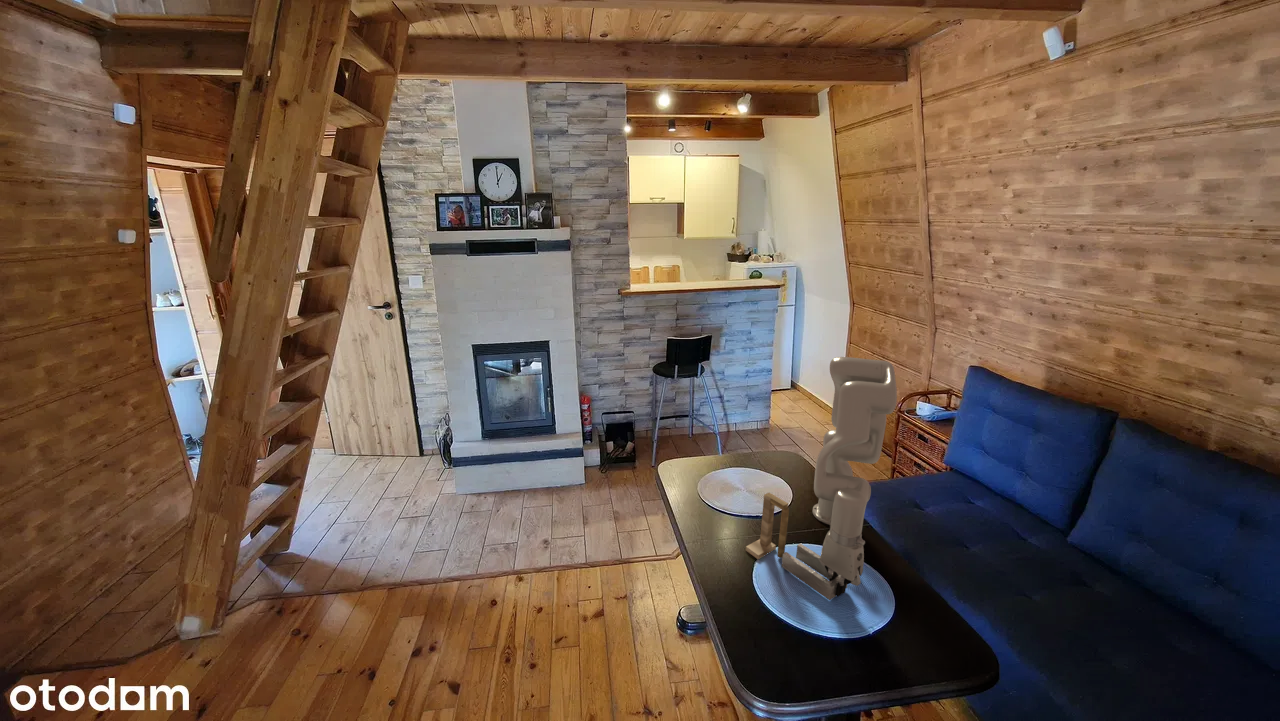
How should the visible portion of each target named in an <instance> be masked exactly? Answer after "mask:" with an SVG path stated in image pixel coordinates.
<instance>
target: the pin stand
mask: <svg viewBox="0 0 1280 721" xmlns="http://www.w3.org/2000/svg"><path fill="white" fill-rule="evenodd" d="M775 507H777V508H779V510H781V516H780V524H779V535H778V536H779V537H778V545H776V544H775V543H773V542H772V536H773V527H774V519H775V518H774V516H775ZM789 513H790V508H789V503H788V502H786V501H784V500H783V499H781V498H779V497H777V495H775V494H773V493H771V492H767V493H765V494H764V495H763V504H762V515H761V526H760V538H759V539H758V540H755V541H753V542H752V543H749V544H748V545H746V546H745V552H747V553H748V554H750V555H752V556H753V557H754V558H756V560H759V559H761V557H762V558H764V557H765V556H767V555H768V554H770V553H772V552H774V551H775V550H777V555H776V556H777V557H778V558H780V559H782V558H783V553H785V552H786V545H787V544H786V543H787V542H786V541H787V534H788V524H789V523H788V522H789V515H790V514H789ZM776 548H777V549H776ZM773 550H774V551H773ZM771 551H772V552H771ZM769 552H770V553H769ZM767 553H768V554H767ZM766 554H767V555H766ZM764 555H765V556H764Z"/></svg>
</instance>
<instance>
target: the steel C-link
mask: <svg viewBox="0 0 1280 721" xmlns="http://www.w3.org/2000/svg"><path fill="white" fill-rule="evenodd" d="M796 547H797V548H796V554H795V556H794V555H791V554H790V553H789V552H787V551H785V553H783V558H781V567H782V568H783V569H784V570H786V571H787V572H788V573H790V574H792V576H795V577H796V578H797V579H798V578H799V579H798V580H800V581H802V582H803V583H804V584H806V585H807V586H809V588H811V589H813V590H814V591H815V592H817V594H819V595H821V596H823V597H824V598H825V599H827V600H828V601H831V600H833V599H834V598H835V597H837V596H836V589H837V584H838V583H839V581H840V576H841V575H839V574H838V575H839V576H837V577H836V578H834V579H833V580H832V581H829V579H830V578H829V577H828V572H827V570H826V568H825V566H823V564H822V563H821V562H820V561H819V560H820V558H821V554H820V555H819V553H816V552H815V551H814V550H812V549H810V548H809V547H808V546H806V545H804V544H803V543H798V544H797V545H796ZM803 562H804V563H803ZM806 564H807V565H806ZM809 566H810V567H809ZM848 585H849V584H846V589H847V588H848Z"/></svg>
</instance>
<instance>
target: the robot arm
mask: <svg viewBox="0 0 1280 721" xmlns="http://www.w3.org/2000/svg"><path fill="white" fill-rule="evenodd" d="M829 373H830V378H831V379H832V381H833V385H834V394H833V401H832V408H831V409H832V410H831V424H832V426H833V428H836V429H830V430H828V431H827V432H825V434H824V436H823V441H822V442H823V443H822V446H823V447H822V448H821V450H820V451H819V453H818V456H817V458H816V464H815V468H814V477H813V479H814V481H813V491H814V495H815V496H816V498H817V499H818V503H816V504H814V505H813V507H812V514H813V516H814V517H815V518H816V519H817V520H818V521H819V522H822V523H823V524H826V525H829V530H828V531H827V533H826V535H825V538H824V540H823V543H822V547H821V552H820V556H821V558H820V560H819V561H820V562H821V563H822V564H823V566H825V568H826V570H827V572H828V577H829V578H830V579H828V580H829V581H832V580H833V579H834V578H836V577H837V576H839V575H841V576H840V581H839V583H838V584H837V589H836V596H835V597H836V598H837V597H838V598H839V597H840V596H841V595H844V594H845V593H846V590H847V588H846V584H848V585H850V584H851V585H853V586H857V587H858V586H860V585H861V583H862V582H861V576H862V575H863V572H864V562H865V559H864V558H865V553H864V551H865V548H864V546H865V544H866V541H865V540H864V539H863V538H862V536H863V534H862V532H863V525H864V519H865V512H866V508H867V504H868V502H869V500H870V498H871V495H872V486H871V485H870V483H869V481H868V480H867V479H866V478H863V477H859V476H858V477H857V476H854V471H853V469H852V466H851V465H850V463H849V462H854V463H861V464H869V465H873V464H876V463H877V462H879V460H880V458H881V455H882V454H881V453H882V450H883V445H884V444H883V442H884V438H885V432H886V426H887V415H891V414H893V412H894V411H895V409H896V407H897V402H898V401H897V399H898V389H897V381H896V372H895V368H894V365H893V364H892V363H891V362H890V361H887V360H880V359H869V358H860V357H851V356H836V357H834V358H833V359H831V361H830V363H829ZM838 574H839V575H838Z"/></svg>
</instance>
